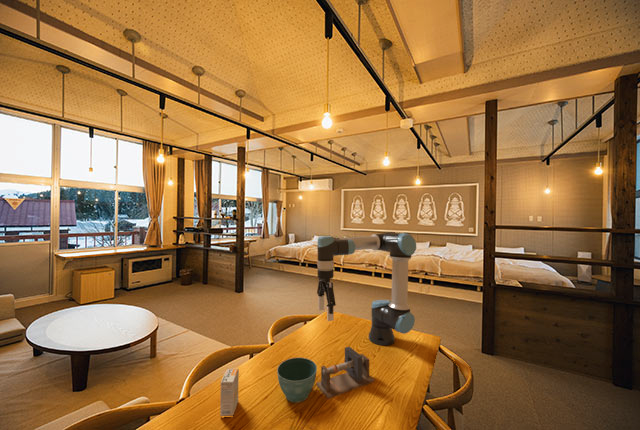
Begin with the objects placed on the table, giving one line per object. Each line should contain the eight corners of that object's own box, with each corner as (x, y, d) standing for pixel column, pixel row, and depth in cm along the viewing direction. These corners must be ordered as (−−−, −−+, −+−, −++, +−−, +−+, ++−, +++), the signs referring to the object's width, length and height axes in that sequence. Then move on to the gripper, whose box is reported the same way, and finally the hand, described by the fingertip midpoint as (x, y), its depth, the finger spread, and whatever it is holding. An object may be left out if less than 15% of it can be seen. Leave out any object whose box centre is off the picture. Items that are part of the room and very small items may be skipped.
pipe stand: (360, 369, 121) (360, 350, 121) (374, 381, 112) (374, 360, 112) (316, 384, 109) (316, 363, 109) (327, 399, 100) (327, 376, 101)
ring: (349, 368, 117) (349, 346, 118) (362, 380, 109) (362, 356, 109) (344, 369, 116) (344, 347, 117) (357, 381, 107) (357, 358, 108)
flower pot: (301, 416, 92) (301, 385, 92) (268, 399, 100) (268, 371, 100) (324, 390, 105) (324, 364, 106) (293, 378, 114) (293, 353, 114)
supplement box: (226, 402, 98) (226, 368, 99) (238, 401, 99) (239, 367, 99) (219, 418, 90) (219, 381, 90) (233, 418, 91) (233, 381, 91)
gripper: (310, 265, 129) (311, 306, 128) (326, 275, 105) (326, 326, 104) (324, 264, 131) (325, 305, 130) (343, 274, 107) (343, 324, 106)
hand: (325, 314), depth 117 cm, fingers open, 13 cm apart
